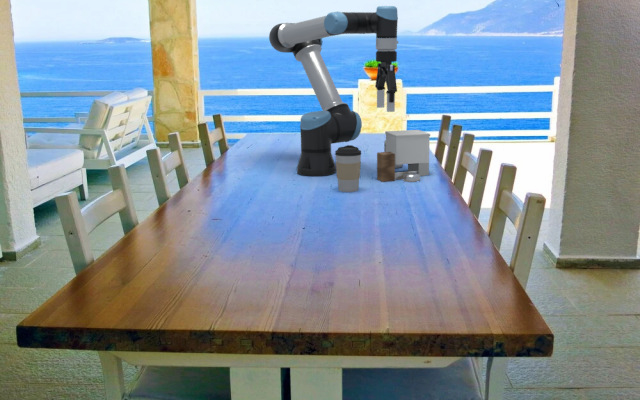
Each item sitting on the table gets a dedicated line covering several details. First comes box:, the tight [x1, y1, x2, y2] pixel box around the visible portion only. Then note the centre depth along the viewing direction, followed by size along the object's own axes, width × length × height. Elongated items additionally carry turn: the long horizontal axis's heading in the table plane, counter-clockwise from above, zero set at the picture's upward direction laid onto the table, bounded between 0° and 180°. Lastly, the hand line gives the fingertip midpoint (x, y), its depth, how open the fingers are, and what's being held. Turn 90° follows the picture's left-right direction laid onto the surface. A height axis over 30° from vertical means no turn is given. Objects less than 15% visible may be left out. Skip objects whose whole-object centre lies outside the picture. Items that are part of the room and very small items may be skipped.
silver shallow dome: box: [402, 173, 421, 183], centre depth 250 cm, size 6×6×2 cm
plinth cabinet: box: [385, 129, 431, 177], centre depth 261 cm, size 13×12×16 cm
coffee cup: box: [334, 144, 362, 193], centre depth 235 cm, size 9×9×15 cm
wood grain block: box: [376, 151, 417, 183], centre depth 252 cm, size 14×5×10 cm, turn 105°
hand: (385, 109), depth 253 cm, fingers open, 13 cm apart
